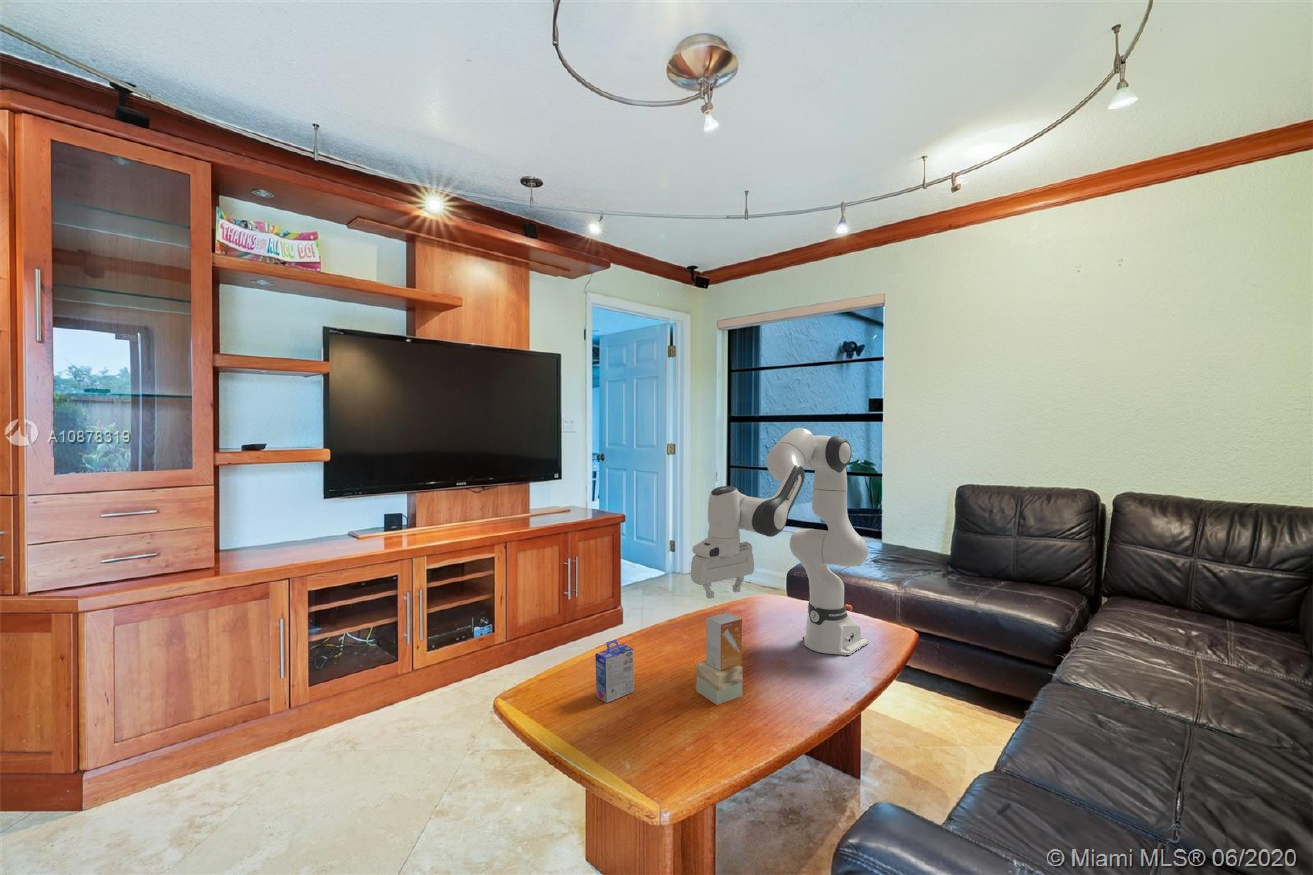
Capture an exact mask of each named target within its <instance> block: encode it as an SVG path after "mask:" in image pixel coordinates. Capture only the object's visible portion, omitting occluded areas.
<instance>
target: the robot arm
mask: <svg viewBox="0 0 1313 875" xmlns="http://www.w3.org/2000/svg"><path fill="white" fill-rule="evenodd" d="M851 458H852V446H851V444H850V443H849V441H848V440H847V439H846V438H845V437H841V436H838V435H834V436H833V435H832V436H831V435H824V434H823V435H821V434H816V435H814V434H813V433H812V432H811V431H810V430H808V429H806V428H803V427H794V428H793V429H791V430H790V431H788V433H786V434H785V435H783V437H782V438H780V439H779V440H778V442H776V443H775V445H774V446H773V447H772V449H771V450H770V451H769V453H768V454H767V457H766V468H767V470H768V472H769V473H770V475H771V476H772V477H773V478H774V479H775V480H776V481H778V482H779V483H780V485H779V487H778V489H777V490H776V493H775V494H774V496H772V497H768V498H762V497H761V498H760V497H755V496H754V497H753V496H747V495H746V494H743V493H741V492H740V491H738V490H739V489H738V488H737V487H735V486H732V485H724V486H718V487H715V488H713V489H712V490H711V491H710V493H709V497H708V501H707V504H708V505H707V521H708V525H709V526H708V531H707V537H706V538H705V539H703V540H702V541H700V542H698V543H696V544H695V545H693V546H692V553H693V554H694V555H693V556H692V559H691V561H690V562H691V563H690V579H691V582H693V583H694V584H696V585H698V586H702V587H703V589H704V590H705V596H706V598H707V599H714V598H715V591H713V590H711V587H712V583H717V582H723V581H726V580H730V579H736V580H735V583H734V584H732V592H733V593H740V592H741V586H742V585H743V582H744V580H745V576H749V575H750V576H751V575H753V573H754V571H755V560H754V553H753V545H752V544H751V543H750V542H749V541H743V542H741V538H740V537H741V533H740V530H743V531H747V532H752V533H756V534H760V535H761V536H766V537H768V538H770V537H775V536H777V535H778V534H781V532H783V531H784V528H785V527H786V525H787V521H788V517H789V515H790V514H789V513H790V512H791V509H792V507H793V506H794V503H795V502H796V500H797V498H798V496H799V493H800V491H801V490H802V487H803V485H804V483H805V479H806V475H805V474H806V473H805V470H804V469H809V470H811V469H812V470H814V476H813V484H812V503H811V504H812V505H811V509H812V512H813V514H814V515H815V516H816V517H817V518H819V519H820V520H822V521H823V522H824V523H825V524H826V526H827V530H824V529H815V528H801V529H800V528H799V529H796V530H795V531H794V532H793V533H792V535H791V536H790V539H789V550H790V552H791V554H792V555H793V556H794V557H795V558H796V559H797V560H798V561H799V562H800V563H801V565H802V567H803V569H804V570H805V572H806V575H807V578H808V586H809V601H808V603H807V604H808V606H807V613H808V615H807V617H806V625H805V633H803V639H804V640H803V644H804V646H806V648H808V649H810V650H812V651H815V652H817V653H822V654H826V655H827V654H828V655H840V656H846V655H849V656H851V655H853V654H855V653H856V652H857V651H859V650H861V649H862V648H863V647H862V646H864V647H866V646H867V645H868V644H869V640H868V639H867V638H865V637H864V636H862V633H861V632H862V630H861V626H860V625H859V624H858V622H856V621H855V620H854V619H853V618H851V617H850V616H849V615H848V612H852V610H853V605H851V604H847V603H846V604H845V584H844V582H843V580H842V579H841V578H840V577H839V576H838V575H836V574H835V573H834V572H833V571H832V570H831V569H830V567H829V565H833V566H839V567H846V568H849V567H850V568H851V567H852V568H854V567H855V568H856V567H861V566H862V565H863V564H864V563H865V562H866V561H867V559H868V555H869V548H868V545H867V542H866V540H865V539H864V538H863V537H862V536H861V535H860V534H858V532H857V531H856V530H855V528H854V527H853V525H852V523H851V521H850V519H849V514H848V475H847V469H846V468H847V466H848V465H849V463H850V461H851ZM866 644H867V645H866ZM865 645H866V646H865ZM861 647H862V648H861ZM860 648H861V649H860ZM858 649H859V650H858ZM856 650H857V651H856ZM855 651H856V652H855ZM852 653H853V654H852Z"/></svg>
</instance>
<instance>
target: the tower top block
mask: <svg viewBox="0 0 1313 875" xmlns="http://www.w3.org/2000/svg"><path fill="white" fill-rule="evenodd" d="M743 670H744V668H743V666H741V665H737V666H734V667H730V668H727V669H725V670H722V671H720V670H718V669H716V668H714V667H712V666H710V665H708V664H707V663H706V660H704V661H702V662H698V663H696V680H697V679H699V680H700V681H702V682H704V683H706V684H707V685H709V686H711V687H712V688H714V689H716V690H718V691H720V690H723V689H725V688H728V687H730V686H733V685H735V684H738V683H740V682H742V683H743V677H744V676H743V675H744V674H743V673H744V672H743Z"/></svg>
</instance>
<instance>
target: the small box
mask: <svg viewBox="0 0 1313 875" xmlns="http://www.w3.org/2000/svg"><path fill="white" fill-rule="evenodd" d="M705 624H706V627H705V628H706V630H705V631H706V634H705V635H706V636H705V637H706V642H705V644H706V646H705V661H706V663H707V664H708V665H710V666H712V667H714V668H716V669H718V670H720V671H722V670H725V669H727V668H730V667H734V666H737V665H739V666H741V665H742V649H743V646H742V645H743V644H742V642H743V618H741V617H739V616H736V615H734V614H732V613H730V612H724V613H720V614H717V615H715V614H714V616H713V615H712V616H710V617H706V623H705Z"/></svg>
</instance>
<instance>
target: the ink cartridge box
mask: <svg viewBox="0 0 1313 875" xmlns="http://www.w3.org/2000/svg"><path fill="white" fill-rule="evenodd" d="M605 643H606V649H605V650H602V651H599V652H596V653H595V656H594V657H595V687H596V688H595V690H596V691H595V692H596V697H597V698H598V699H599V700H600V701H602V702H604V703H605V704H607V703H608V704H609V702H612V701H615V700H618V699H620V698H622V697H624V696H626V695H629V694H631V693H634V691H635V689H634V688H635V680H634V675H635V674H634V672H635V670H634V649H633V647H630V646H628V645H627V644H624V643H621V644H619V643H618V640H617V639H612V640H610V641H607V642H605ZM612 644H615V645H613V646H610V645H612Z"/></svg>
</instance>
